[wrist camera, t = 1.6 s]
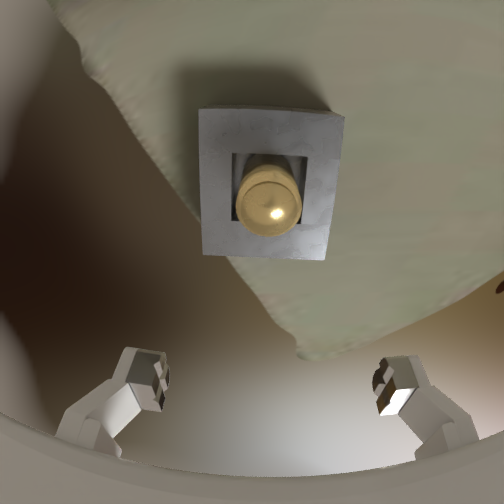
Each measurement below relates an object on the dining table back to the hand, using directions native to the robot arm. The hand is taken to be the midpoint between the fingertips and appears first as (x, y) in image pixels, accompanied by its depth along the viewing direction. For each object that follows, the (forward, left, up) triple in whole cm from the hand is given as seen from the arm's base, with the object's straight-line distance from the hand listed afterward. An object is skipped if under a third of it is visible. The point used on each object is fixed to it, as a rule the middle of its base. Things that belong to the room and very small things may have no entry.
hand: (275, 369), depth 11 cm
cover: (0, 0, -23) cm, 23 cm away
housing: (0, 0, -24) cm, 24 cm away
